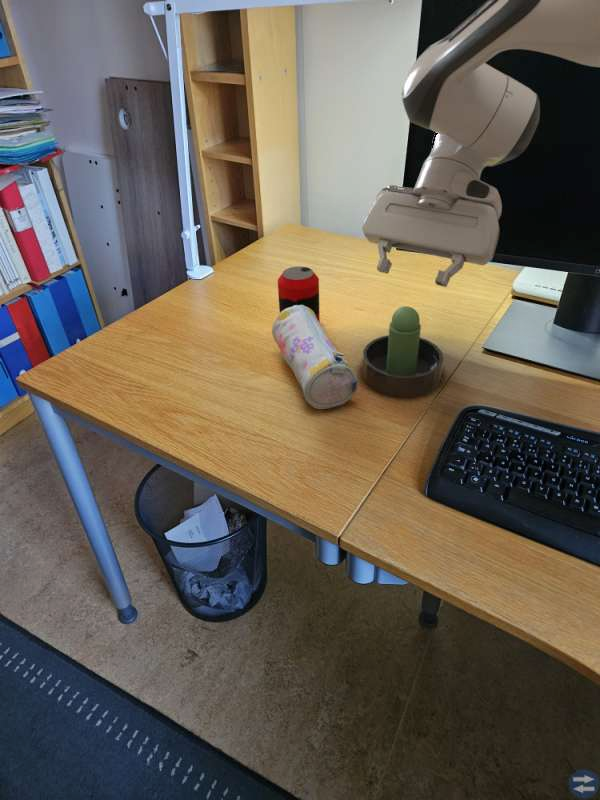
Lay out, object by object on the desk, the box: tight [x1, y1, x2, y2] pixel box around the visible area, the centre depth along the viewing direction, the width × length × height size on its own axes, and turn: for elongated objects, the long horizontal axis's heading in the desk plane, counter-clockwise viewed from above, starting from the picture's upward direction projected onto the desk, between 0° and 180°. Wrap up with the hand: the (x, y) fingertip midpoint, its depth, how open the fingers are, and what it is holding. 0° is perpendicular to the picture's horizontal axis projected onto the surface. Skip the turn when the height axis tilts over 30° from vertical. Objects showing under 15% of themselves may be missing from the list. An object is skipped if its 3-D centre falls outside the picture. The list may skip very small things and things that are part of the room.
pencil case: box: [271, 305, 358, 410], centre depth 93 cm, size 21×9×10 cm, turn 18°
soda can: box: [277, 266, 321, 324], centre depth 105 cm, size 8×8×12 cm
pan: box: [361, 334, 445, 399], centre depth 94 cm, size 13×13×4 cm
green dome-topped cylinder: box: [386, 306, 422, 376], centre depth 92 cm, size 5×5×12 cm
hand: (410, 278), depth 83 cm, fingers open, 8 cm apart
